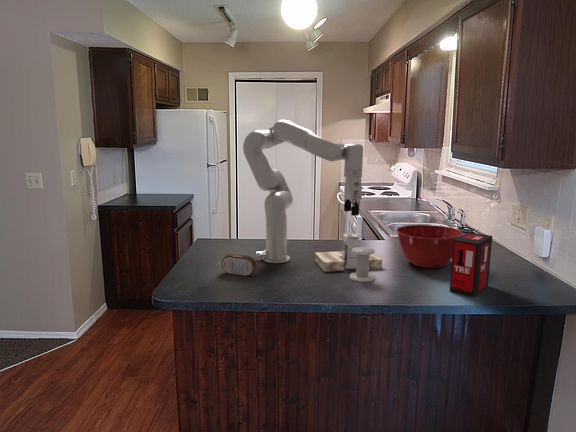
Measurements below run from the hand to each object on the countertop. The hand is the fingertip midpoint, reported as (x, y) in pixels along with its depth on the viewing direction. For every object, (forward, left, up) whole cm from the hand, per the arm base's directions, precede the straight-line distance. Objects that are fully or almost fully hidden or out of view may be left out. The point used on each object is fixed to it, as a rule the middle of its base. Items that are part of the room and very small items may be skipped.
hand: (351, 213), depth 195 cm
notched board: (0, +4, -24) cm, 24 cm away
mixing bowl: (+36, -1, -24) cm, 44 cm away
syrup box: (0, 0, -24) cm, 24 cm away
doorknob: (0, -15, -24) cm, 29 cm away
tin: (-49, -2, -24) cm, 55 cm away
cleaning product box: (+36, -34, -24) cm, 56 cm away
